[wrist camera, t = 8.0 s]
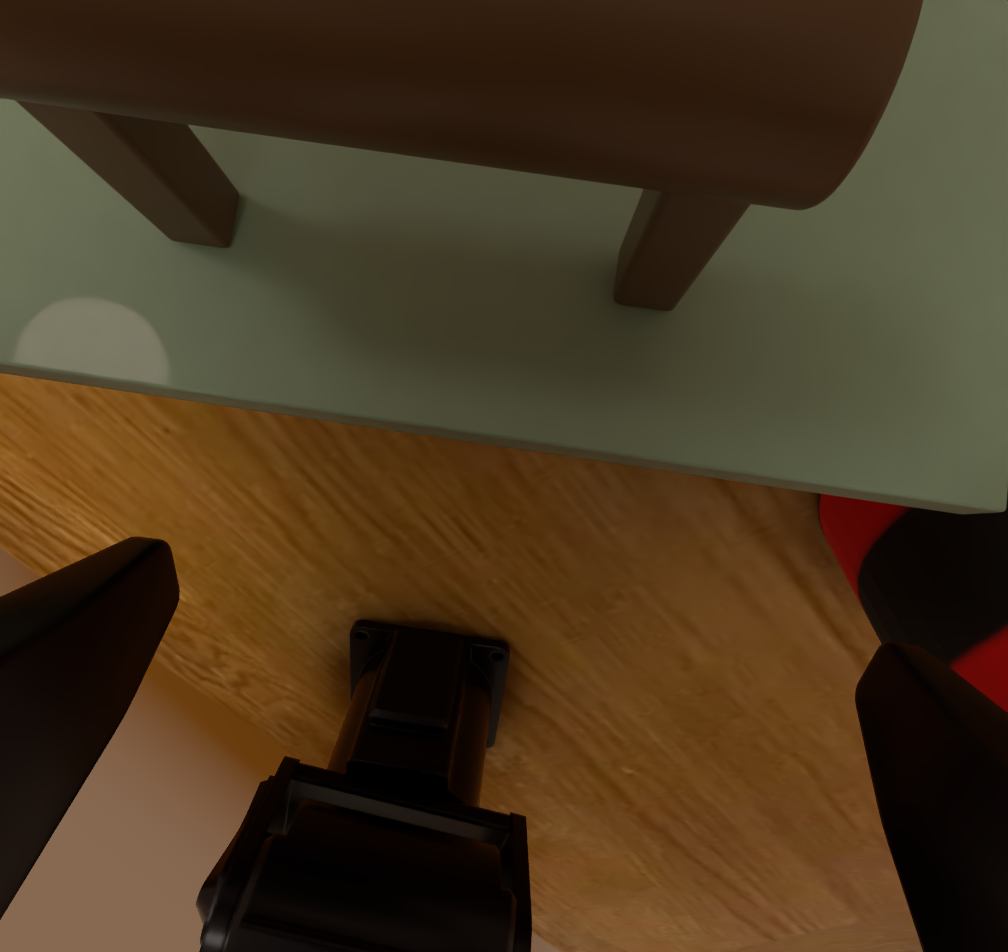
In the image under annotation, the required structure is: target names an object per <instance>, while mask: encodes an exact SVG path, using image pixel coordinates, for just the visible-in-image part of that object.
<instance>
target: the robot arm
mask: <svg viewBox="0 0 1008 952" xmlns="http://www.w3.org/2000/svg"><path fill="white" fill-rule="evenodd" d="M179 593H180V590H179V584H178V579H177V574H176V569H175V565H174V560H173V555H172V551H171V548H170V546H169V544H168V543H167V542H165V541H163V540H160V539H153V538H146V537H130V538H128V539H125V540H123V541H121V542H119V543H117V544H114V545H112V546H110V547H108V548H106V549H104V550H101V551H99V552H97V553H95V554H93V555H90V556H88V557H86V558H84V559H82V560H80V561H77V562H75V563H73V564H71V565H69V566H67V567H64V568H62V569H60V570H58V571H56V572H53V573H51V574H49V575H47V576H45V577H43V578H40V579H38V580H36V581H34V582H32V583H30V584H27V585H25V586H23V587H21V588H19V589H16V590H14V591H12V592H10V593H8V594H6V595H3V596H1V597H0V920H1V918H2V916H3V914H4V913H5V911H6V910H7V908H8V906H9V905H10V903H11V902H12V900H13V898H14V897H15V895H16V893H17V892H18V890H19V888H20V887H21V885H22V883H23V881H24V880H25V879H26V877H27V875H28V874H29V872H30V870H31V869H32V867H33V866H34V864H35V862H36V861H37V859H38V857H39V856H40V854H41V852H42V851H43V849H44V848H45V846H46V844H47V843H48V841H49V839H50V838H51V836H52V834H53V833H54V831H55V829H56V828H57V826H58V825H59V823H60V821H61V820H62V818H63V816H64V815H65V813H66V811H67V810H68V808H69V807H70V805H71V803H72V802H73V800H74V798H75V797H76V795H77V794H78V792H79V790H80V789H81V787H82V785H83V784H84V782H85V780H86V779H87V777H88V776H89V774H90V772H91V771H92V769H93V767H94V766H95V764H96V762H97V761H98V759H99V757H100V756H101V754H102V753H103V751H104V749H105V748H106V746H107V744H108V743H109V741H110V739H111V738H112V736H113V735H114V733H115V731H116V729H117V728H118V726H119V724H120V723H121V721H122V719H123V717H124V715H125V714H126V712H127V710H128V708H129V706H130V704H131V702H132V700H133V698H134V696H135V694H136V692H137V690H138V688H139V686H140V684H141V682H142V679H143V677H144V675H145V673H146V671H147V669H148V667H149V665H150V663H151V660H152V658H153V656H154V654H155V652H156V650H157V648H158V646H159V644H160V641H161V639H162V637H163V635H164V633H165V631H166V629H167V627H168V625H169V622H170V620H171V618H172V616H173V614H174V612H175V610H176V607H177V605H178V601H179ZM362 632H365V633H362ZM494 652H499V654H497V653H494ZM509 656H510V647H509V646H508V644H506V643H505V642H503V641H499V640H493V639H486V638H479V637H473V636H466V635H460V634H453V633H446V632H440V631H433V630H427V629H420V628H413V627H407V626H400V625H394V624H387V623H380V622H374V621H367V620H359V621H356V622H355V623H354V624H353V626H352V628H351V631H350V697H351V702H350V705H349V708H348V711H347V713H346V716H345V719H344V722H343V725H342V728H341V730H340V733H339V736H338V739H337V742H336V745H335V747H334V750H333V753H332V756H331V759H330V762H329V765H328V767H327V769H323V768H319V767H315V766H311V765H307V764H303V763H300V760H299V759H295V758H291V757H286V756H285V757H284V759H283V761H282V762H281V764H280V766H279V768H278V771H277V772H276V774H275V776H271V775H270V777H269V778H268V780H266V781H263V782H260V785H259V787H258V789H257V791H256V794H255V796H254V798H253V800H252V803H251V805H250V808H249V810H248V812H247V814H246V816H245V818H244V820H243V822H242V824H241V826H240V828H239V830H238V832H237V833H236V835H235V836H234V838H233V840H232V841H231V843H230V844H229V846H228V847H227V849H226V850H225V852H224V853H223V855H222V856H221V858H220V859H219V861H218V862H217V864H216V865H215V867H214V868H213V870H212V871H211V873H210V874H209V876H208V877H207V879H206V881H205V882H204V884H203V886H202V888H201V890H200V892H199V895H198V898H197V902H196V907H197V909H198V912H199V915H200V917H201V920H202V923H203V929H202V933H201V938H200V944H201V948H200V952H531V936H532V915H531V897H530V880H529V862H528V844H527V826H526V816H523V815H519V814H515V813H510V815H507V814H503V813H499V812H495V811H491V810H487V809H483V808H479V807H478V806H479V799H480V791H481V783H482V776H483V768H484V760H485V752H486V749H487V748H491V747H492V746H493V745H494V743H495V737H496V731H497V725H498V720H499V714H500V708H501V703H502V697H503V691H504V685H505V680H506V674H507V668H508V662H509ZM855 702H856V708H857V713H858V718H859V722H860V727H861V732H862V736H863V741H864V745H865V750H866V755H867V759H868V764H869V769H870V773H871V778H872V783H873V787H874V792H875V797H876V801H877V806H878V810H879V814H880V818H881V822H882V825H883V829H884V832H885V835H886V839H887V842H888V845H889V848H890V851H891V854H892V857H893V861H894V864H895V867H896V870H897V873H898V876H899V879H900V882H901V885H902V888H903V891H904V894H905V897H906V900H907V903H908V906H909V910H910V913H911V916H912V919H913V922H914V925H915V928H916V931H917V934H918V937H919V940H920V943H921V946H922V949H923V952H1008V713H1007V712H1006V711H1005V710H1003V709H1002V708H1001V707H1000V706H998V705H997V704H996V703H994V702H993V701H992V700H991V699H989V698H988V697H987V696H986V695H984V694H983V693H982V692H980V691H979V690H978V689H977V688H975V687H974V686H973V685H971V684H970V683H969V682H968V681H966V680H965V679H964V678H962V677H961V676H960V675H959V674H957V673H956V672H955V671H954V670H952V669H951V668H950V667H948V666H947V665H946V664H945V663H943V662H942V661H941V660H939V659H938V658H937V657H936V656H934V655H933V654H932V653H931V652H929V651H928V650H927V649H925V648H924V647H922V646H919V645H915V644H909V643H902V642H894V641H888V642H885V643H883V644H882V645H880V646H879V648H878V649H877V651H876V653H875V654H874V656H873V658H872V660H871V661H870V663H869V665H868V667H867V668H866V670H865V672H864V674H863V675H862V677H861V679H860V681H859V682H858V685H857V688H856V693H855Z"/></svg>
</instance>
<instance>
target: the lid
mask: <svg viewBox="0 0 1008 952" xmlns="http://www.w3.org/2000/svg"><path fill="white" fill-rule="evenodd" d="M0 373H5V374H12V375H19V376H25V377H32V378H39V379H46V380H53V381H59V382H66V383H73V384H80V385H87V386H93V387H100V388H107V389H114V390H120V391H127V392H134V393H141V394H148V395H154V396H161V397H168V398H175V399H182V400H188V401H195V402H202V403H209V404H216V405H222V406H229V407H236V408H243V409H250V410H256V411H263V412H270V413H277V414H283V415H290V416H297V417H304V418H311V419H317V420H324V421H331V422H338V423H345V424H351V425H358V426H365V427H372V428H379V429H385V430H392V431H399V432H406V433H412V434H419V435H426V436H433V437H440V438H446V439H453V440H460V441H467V442H474V443H480V444H487V445H494V446H501V447H508V448H514V449H521V450H528V451H535V452H542V453H548V454H555V455H562V456H569V457H575V458H582V459H589V460H596V461H603V462H609V463H616V464H623V465H630V466H637V467H643V468H650V469H657V470H664V471H671V472H677V473H684V474H691V475H698V476H704V477H711V478H718V479H725V480H732V481H738V482H745V483H752V484H759V485H766V486H772V487H779V488H786V489H793V490H800V491H806V492H813V493H820V494H827V495H834V496H840V497H847V498H854V499H861V500H867V501H874V502H881V503H888V504H895V505H901V506H908V507H915V508H922V509H929V510H935V511H942V512H949V513H956V514H978V513H997V512H1003V511H1005V510H1006V505H1007V492H1008V0H0Z"/></svg>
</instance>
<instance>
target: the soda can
mask: <svg viewBox="0 0 1008 952" xmlns="http://www.w3.org/2000/svg"><path fill="white" fill-rule="evenodd" d="M819 512H820V520H821V527H822V530H823V532H824V535H825V537H826V539H827V542H828V544H829V546H830V548H831V549H832V551H833V553H834V555H835V557H836V559H837V561H838V563H839V564H840V566H841V568H842V570H843V572H844V574H845V576H846V578H847V580H848V581H849V583H850V585H851V587H852V589H853V591H854V593H855V595H856V596H857V598H858V600H859V602H860V604H861V606H862V608H863V610H864V611H865V613H866V615H867V617H868V619H869V621H870V623H871V625H872V626H873V628H874V630H875V632H876V634H877V636H878V638H879V640H880V641H881V643H882V644H883V643H885V642H888V641H894V642H902V643H909V644H915V645H919V646H922V647H924V648H925V649H927V650H928V651H929V652H931V653H932V654H933V655H934V656H936V657H937V658H938V659H939V660H941V661H942V662H943V663H945V664H946V665H947V666H948V667H950V668H951V669H952V670H954V671H955V672H956V673H957V674H959V675H960V676H961V677H962V678H964V679H965V680H966V681H968V682H969V683H970V684H971V685H973V686H974V687H975V688H977V689H978V690H979V691H980V692H982V693H983V694H984V695H986V696H987V697H988V698H989V699H991V700H992V701H993V702H994V703H996V704H997V705H998V706H1000V707H1001V708H1002V709H1003V710H1005V711H1006V712H1007V713H1008V492H1007V505H1006V510H1005V511H1003V512H997V513H978V514H956V513H949V512H942V511H935V510H929V509H922V508H915V507H908V506H901V505H895V504H888V503H881V502H874V501H867V500H861V499H854V498H847V497H840V496H834V495H827V494H821V499H820V507H819Z"/></svg>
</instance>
